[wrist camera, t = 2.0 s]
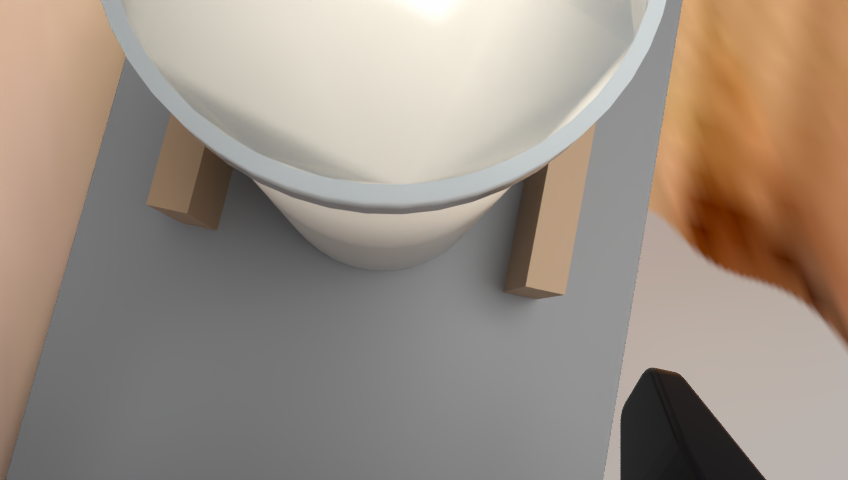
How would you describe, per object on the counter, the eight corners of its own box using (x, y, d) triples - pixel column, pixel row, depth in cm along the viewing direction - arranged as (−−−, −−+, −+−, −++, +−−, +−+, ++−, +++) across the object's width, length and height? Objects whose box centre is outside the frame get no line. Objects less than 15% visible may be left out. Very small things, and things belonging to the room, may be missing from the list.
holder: (545, 733, 19) (591, 846, 15) (-16, 627, 18) (-130, 714, 14) (675, -34, 22) (742, -116, 18) (201, -146, 22) (159, -257, 18)
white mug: (473, 299, 19) (623, 261, 7) (241, 250, 19) (12, 128, 7) (529, 18, 21) (736, -402, 9) (311, -32, 20) (214, -537, 8)
